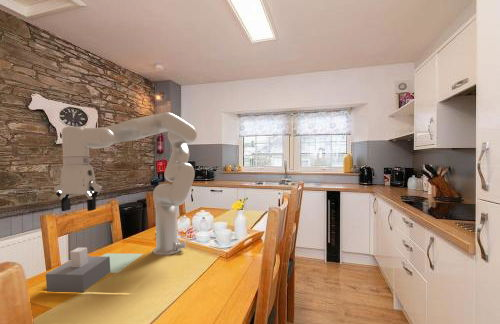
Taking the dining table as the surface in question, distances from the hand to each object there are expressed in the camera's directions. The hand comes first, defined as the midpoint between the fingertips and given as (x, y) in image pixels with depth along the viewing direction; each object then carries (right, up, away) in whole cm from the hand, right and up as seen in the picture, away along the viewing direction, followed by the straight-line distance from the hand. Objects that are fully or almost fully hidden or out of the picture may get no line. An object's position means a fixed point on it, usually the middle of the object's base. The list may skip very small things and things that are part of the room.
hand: (78, 210), depth 84 cm
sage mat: (+3, -25, +15) cm, 30 cm away
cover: (+1, -25, 0) cm, 25 cm away
